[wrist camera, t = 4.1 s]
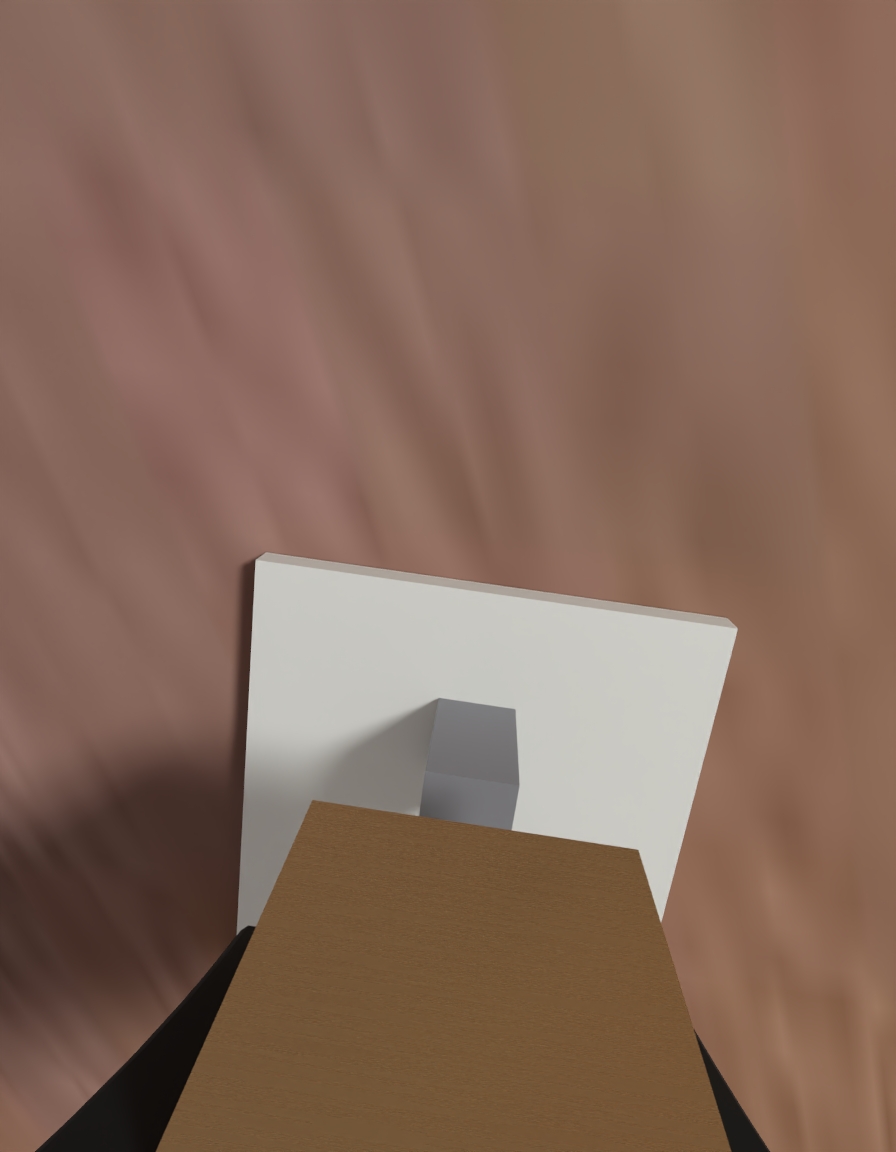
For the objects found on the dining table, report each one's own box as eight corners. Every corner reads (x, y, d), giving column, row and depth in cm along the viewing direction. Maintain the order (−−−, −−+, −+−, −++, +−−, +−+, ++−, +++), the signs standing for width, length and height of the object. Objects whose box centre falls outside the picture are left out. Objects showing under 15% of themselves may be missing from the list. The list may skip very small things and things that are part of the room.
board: (237, 1071, 23) (179, 1224, 19) (266, 552, 18) (195, 602, 14) (596, 1131, 22) (618, 1301, 18) (727, 617, 17) (799, 690, 13)
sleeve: (291, 1049, 12) (150, 1505, 7) (312, 799, 10) (155, 1154, 6) (578, 1096, 12) (637, 1596, 7) (638, 849, 10) (763, 1257, 5)
